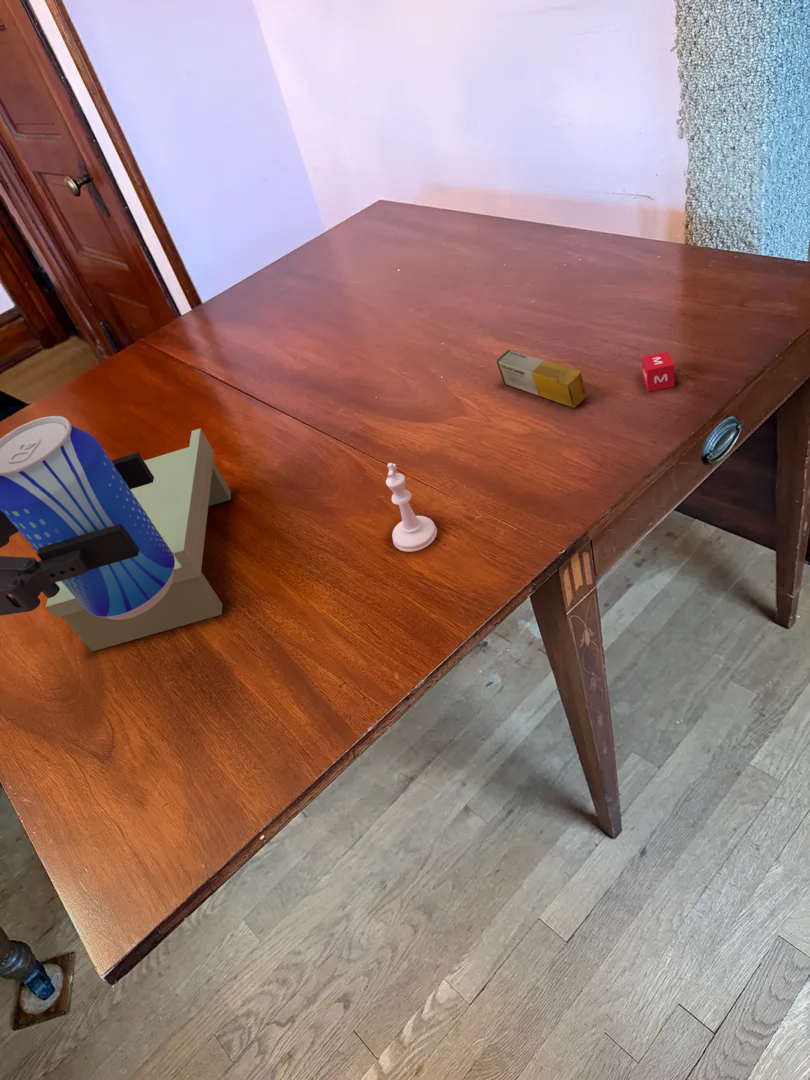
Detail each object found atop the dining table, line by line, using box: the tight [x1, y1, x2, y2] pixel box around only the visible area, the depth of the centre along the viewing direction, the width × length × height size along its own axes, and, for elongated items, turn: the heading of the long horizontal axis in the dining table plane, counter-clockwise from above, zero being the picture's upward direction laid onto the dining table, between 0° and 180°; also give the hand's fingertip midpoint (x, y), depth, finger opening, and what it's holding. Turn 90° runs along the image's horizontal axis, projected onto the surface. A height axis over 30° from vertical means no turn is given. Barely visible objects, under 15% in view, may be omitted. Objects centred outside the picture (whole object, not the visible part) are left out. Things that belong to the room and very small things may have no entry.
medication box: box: [496, 349, 588, 409], centre depth 92 cm, size 12×3×4 cm, turn 40°
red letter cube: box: [641, 351, 675, 392], centre depth 88 cm, size 3×3×3 cm
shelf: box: [45, 427, 232, 652], centre depth 85 cm, size 16×22×10 cm
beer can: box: [0, 415, 175, 620], centre depth 59 cm, size 8×8×16 cm
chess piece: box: [385, 462, 438, 553], centre depth 77 cm, size 5×5×10 cm
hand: (138, 501), depth 58 cm, fingers closed on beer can, 8 cm apart
